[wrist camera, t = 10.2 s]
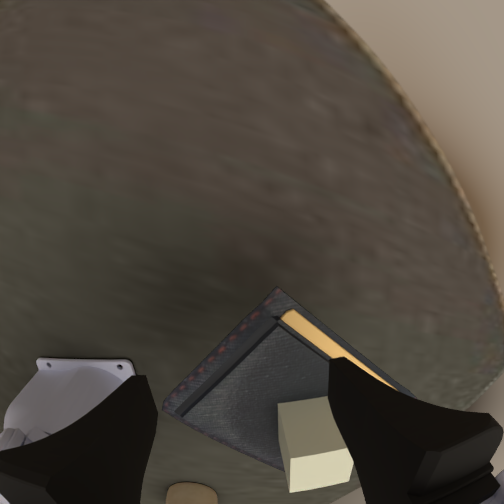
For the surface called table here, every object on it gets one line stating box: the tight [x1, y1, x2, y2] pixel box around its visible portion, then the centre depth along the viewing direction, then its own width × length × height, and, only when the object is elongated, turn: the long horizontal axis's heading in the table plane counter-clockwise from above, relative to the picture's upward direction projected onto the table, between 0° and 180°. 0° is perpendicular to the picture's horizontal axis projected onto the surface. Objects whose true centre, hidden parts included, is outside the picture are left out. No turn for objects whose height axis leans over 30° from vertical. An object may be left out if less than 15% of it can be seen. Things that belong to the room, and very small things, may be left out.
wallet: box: [162, 286, 417, 472], centre depth 24 cm, size 20×2×15 cm
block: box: [278, 396, 353, 493], centre depth 20 cm, size 4×4×6 cm
